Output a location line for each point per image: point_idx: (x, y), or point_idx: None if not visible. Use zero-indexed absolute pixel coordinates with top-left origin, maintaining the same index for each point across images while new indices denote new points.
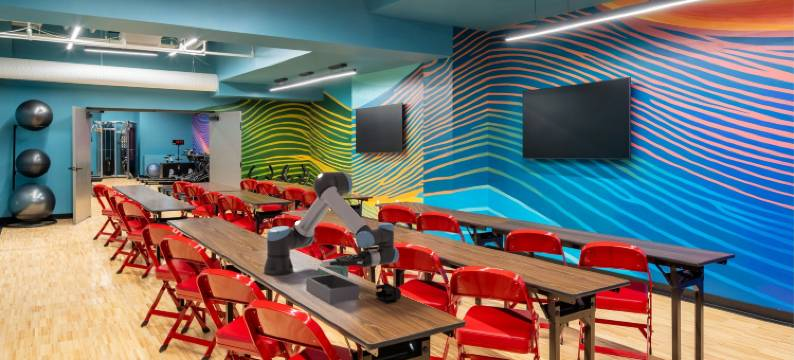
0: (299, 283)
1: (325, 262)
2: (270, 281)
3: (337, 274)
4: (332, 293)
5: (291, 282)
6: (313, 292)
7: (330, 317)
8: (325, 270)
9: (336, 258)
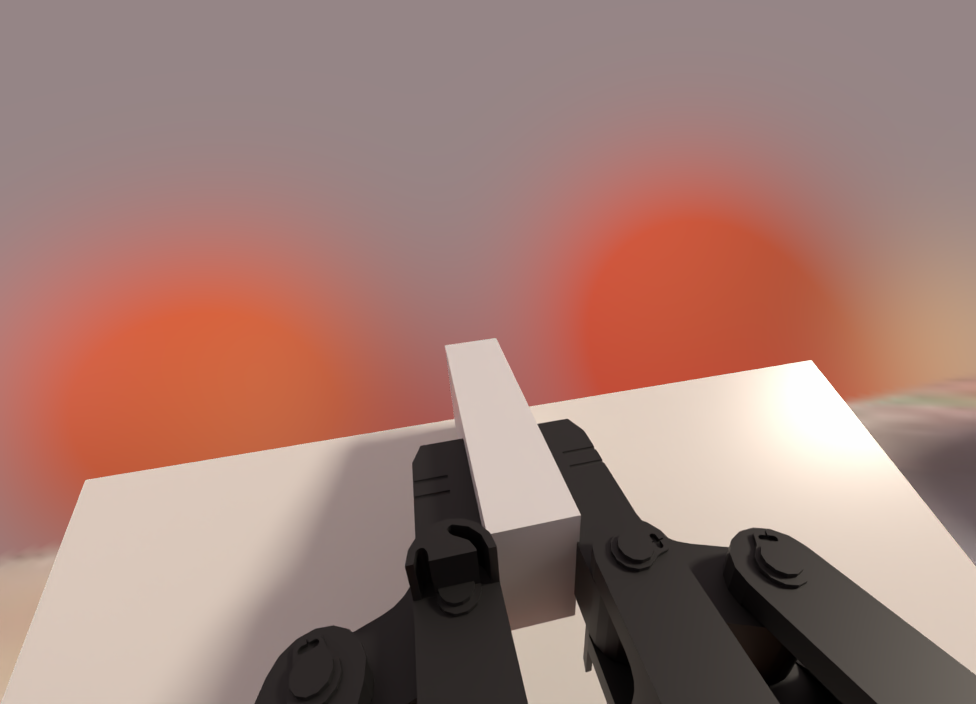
0: (959, 538)
1: (452, 386)
2: (915, 399)
3: (60, 551)
4: None
5: (960, 490)
6: None
7: (15, 579)
8: (351, 444)
9: (773, 616)
